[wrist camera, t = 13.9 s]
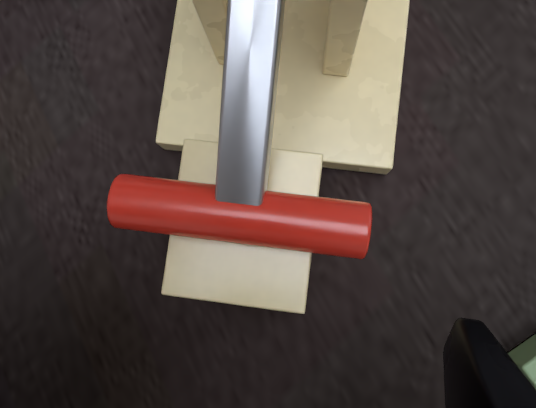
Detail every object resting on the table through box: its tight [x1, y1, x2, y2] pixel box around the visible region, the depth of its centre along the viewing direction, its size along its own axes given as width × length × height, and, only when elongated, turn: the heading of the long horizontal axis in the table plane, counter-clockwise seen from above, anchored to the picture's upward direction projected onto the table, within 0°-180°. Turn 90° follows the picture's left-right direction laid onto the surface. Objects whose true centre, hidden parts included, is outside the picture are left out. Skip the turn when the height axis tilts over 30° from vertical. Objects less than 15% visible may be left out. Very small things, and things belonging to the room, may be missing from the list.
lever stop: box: [161, 139, 323, 314], centre depth 16 cm, size 4×4×7 cm
